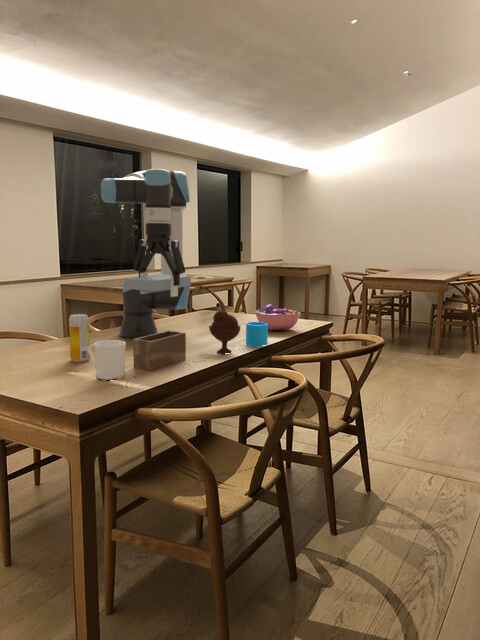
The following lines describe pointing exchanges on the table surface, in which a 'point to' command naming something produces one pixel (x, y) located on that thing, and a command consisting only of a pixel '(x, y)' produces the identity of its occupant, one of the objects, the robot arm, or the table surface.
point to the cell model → (277, 318)
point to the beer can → (79, 337)
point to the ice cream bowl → (224, 329)
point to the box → (159, 350)
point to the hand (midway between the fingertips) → (159, 294)
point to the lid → (154, 283)
